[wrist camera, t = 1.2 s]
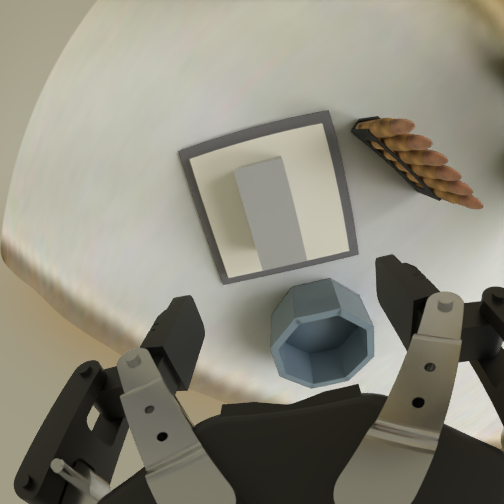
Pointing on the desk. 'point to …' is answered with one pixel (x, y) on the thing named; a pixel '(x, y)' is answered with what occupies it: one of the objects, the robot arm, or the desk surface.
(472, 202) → the ammunition clip
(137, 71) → the desk surface
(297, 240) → the lid
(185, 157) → the mat
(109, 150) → the desk surface
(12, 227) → the desk surface
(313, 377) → the bowl
